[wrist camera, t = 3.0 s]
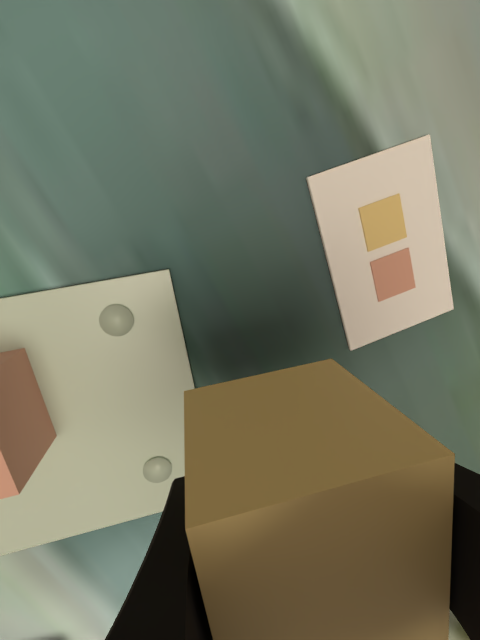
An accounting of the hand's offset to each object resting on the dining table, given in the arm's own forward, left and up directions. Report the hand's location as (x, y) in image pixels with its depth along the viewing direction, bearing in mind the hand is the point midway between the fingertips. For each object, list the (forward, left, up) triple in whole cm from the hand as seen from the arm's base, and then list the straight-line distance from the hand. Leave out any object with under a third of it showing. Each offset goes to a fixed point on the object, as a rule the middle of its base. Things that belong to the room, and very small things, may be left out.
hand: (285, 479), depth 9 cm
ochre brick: (0, 0, -2) cm, 2 cm away
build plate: (-1, +10, -9) cm, 14 cm away
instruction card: (+5, -10, -9) cm, 14 cm away
